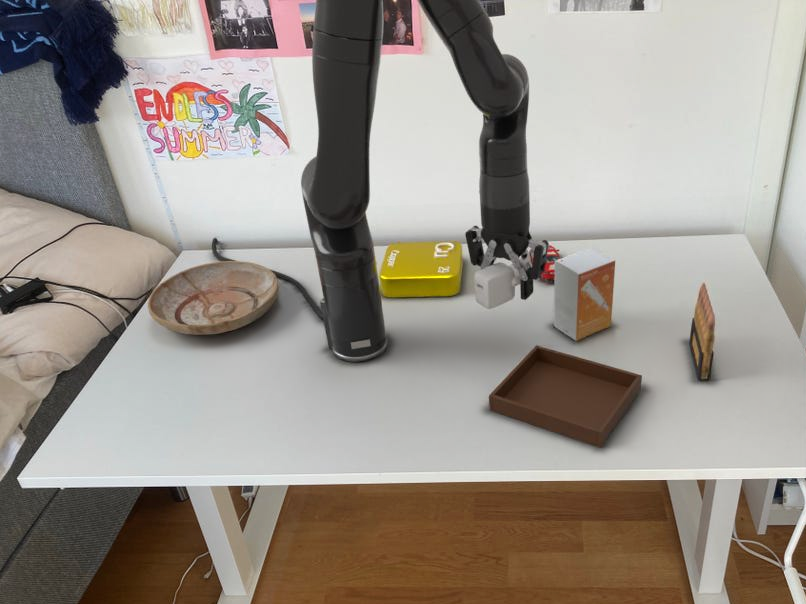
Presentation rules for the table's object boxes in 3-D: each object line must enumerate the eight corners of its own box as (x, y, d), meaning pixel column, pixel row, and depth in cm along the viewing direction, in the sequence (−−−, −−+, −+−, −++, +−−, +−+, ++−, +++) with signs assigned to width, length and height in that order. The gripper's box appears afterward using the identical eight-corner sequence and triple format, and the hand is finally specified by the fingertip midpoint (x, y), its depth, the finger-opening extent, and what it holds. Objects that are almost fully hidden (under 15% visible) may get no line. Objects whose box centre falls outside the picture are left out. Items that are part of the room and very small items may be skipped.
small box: (576, 342, 132) (578, 274, 125) (553, 326, 136) (553, 259, 129) (612, 326, 136) (616, 259, 128) (588, 311, 140) (591, 245, 133)
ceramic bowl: (137, 352, 136) (128, 328, 133) (175, 286, 155) (168, 263, 152) (270, 344, 136) (264, 320, 133) (292, 279, 155) (287, 256, 152)
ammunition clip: (688, 342, 130) (697, 279, 124) (700, 342, 130) (709, 279, 123) (697, 380, 122) (707, 315, 115) (710, 381, 121) (720, 315, 115)
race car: (527, 255, 159) (526, 237, 157) (553, 252, 159) (553, 234, 157) (541, 286, 148) (541, 267, 146) (569, 283, 149) (569, 264, 146)
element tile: (390, 261, 160) (387, 239, 157) (463, 259, 159) (462, 237, 156) (380, 298, 147) (377, 276, 145) (459, 296, 146) (457, 274, 144)
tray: (489, 410, 118) (488, 395, 117) (536, 359, 129) (536, 344, 127) (600, 447, 110) (601, 432, 108) (640, 389, 120) (642, 375, 119)
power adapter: (524, 279, 132) (523, 247, 129) (543, 289, 129) (543, 258, 126) (472, 301, 127) (470, 269, 124) (490, 313, 124) (488, 281, 121)
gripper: (558, 195, 118) (557, 292, 127) (476, 180, 124) (482, 274, 134) (535, 214, 112) (536, 314, 122) (451, 198, 119) (458, 294, 128)
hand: (508, 292), depth 128 cm, fingers closed on power adapter, 6 cm apart
